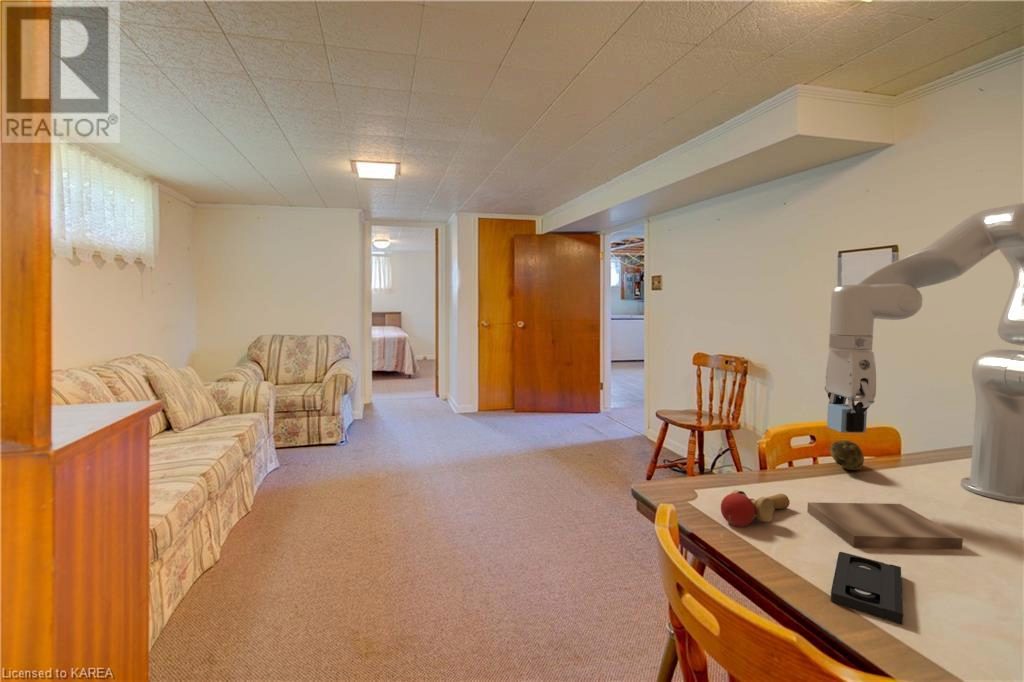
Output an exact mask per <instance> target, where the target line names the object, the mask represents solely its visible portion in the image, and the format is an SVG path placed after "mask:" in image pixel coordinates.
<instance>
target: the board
mask: <svg viewBox="0 0 1024 682" xmlns="http://www.w3.org/2000/svg"><path fill="white" fill-rule="evenodd" d="M807 513H808V514H809V515H810V516H812V517H813V518H815V520H817V521H818V520H819V522H820V523H821V524H822V525H824V526H825V527H826V528H827V529H829V530H830V531H832V532H833V533H834V534H836V536H838V537H839V538H841V539H842V540H843V541H844V542H846V543H847V544H848V545H850V546H851V547H852V548H872V549H873V548H874V549H875V548H877V549H879V548H880V549H881V548H882V549H885V548H886V549H924V550H926V549H927V550H928V549H929V550H932V549H933V550H934V549H935V550H963V541H964V538H963V537H962V536H960V535H959V534H956V533H955V532H953V531H951V530H949V529H947V528H945V527H944V526H942V525H940V524H938V523H936V522H934V521H933V520H931V519H929V518H928V517H925V516H923V514H922V515H921V514H920V513H918V512H916V511H914V510H913V509H911V508H909V507H907V506H905V505H904V504H902V503H875V502H874V503H873V502H870V503H869V502H868V503H867V502H864V503H863V502H814V501H813V502H809V501H808V502H807Z"/></svg>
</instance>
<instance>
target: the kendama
mask: <svg viewBox="0 0 1024 682" xmlns="http://www.w3.org/2000/svg"><path fill="white" fill-rule="evenodd" d="M790 502H791V501H790V499H789V497H788V495H786V494H785V493H782V492H781V493H777V494H774V495H769V496H761V497H759V498H758V499H754V498H750V497H748V496H747V494H746V493H745V492H744V491H742V490H738V489H735V490H734V489H733V490H732V492H731V493H729V494H726V496H725V497H724V498H723V499H722V500H721V503H720V512H721V514H722V517H723V518H724V519H725V521H726V522H727V523H728V524H730V525H732V526H734V527H746V526H747V525H750V524H751V523H753V521H754V519H755V517H756V519H758V520H759V521H760V522H769V521H770V520H771V519H772V518H773V515H774V511H775V510H776V509H777V510H781V509H783V508H785V509H787V508H789V506H790V504H791V503H790ZM783 510H784V509H783Z"/></svg>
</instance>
